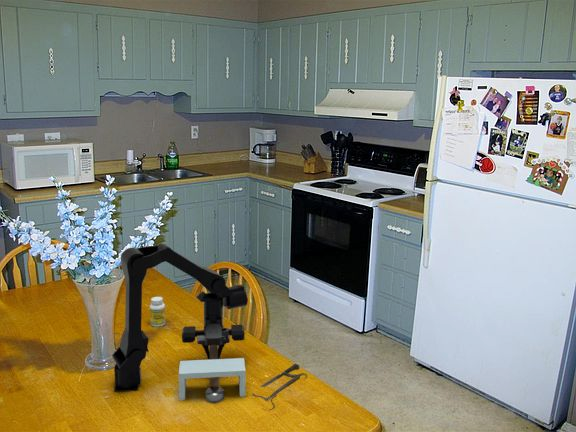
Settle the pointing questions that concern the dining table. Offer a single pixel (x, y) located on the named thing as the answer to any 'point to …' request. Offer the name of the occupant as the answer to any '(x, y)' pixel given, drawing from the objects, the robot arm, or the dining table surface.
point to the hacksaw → (284, 384)
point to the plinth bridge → (211, 371)
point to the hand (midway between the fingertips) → (213, 358)
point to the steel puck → (214, 394)
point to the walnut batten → (213, 355)
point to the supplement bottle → (157, 312)
